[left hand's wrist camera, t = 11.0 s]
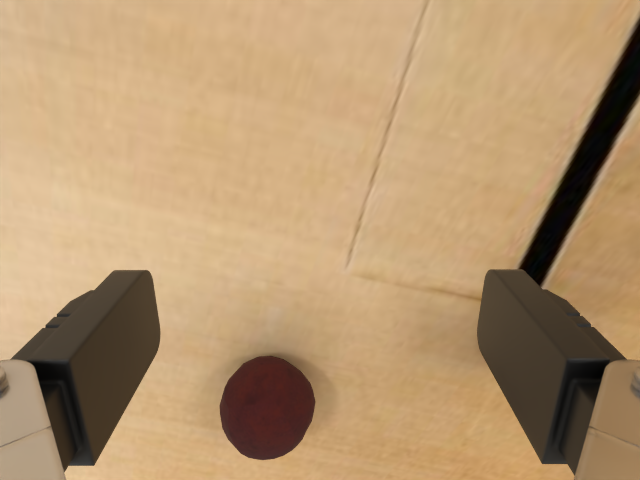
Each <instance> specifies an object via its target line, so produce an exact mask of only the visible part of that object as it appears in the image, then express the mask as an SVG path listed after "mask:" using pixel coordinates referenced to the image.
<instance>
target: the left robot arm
mask: <svg viewBox="0 0 640 480" xmlns="http://www.w3.org/2000/svg"><path fill="white" fill-rule="evenodd" d="M477 337H478V344H479V348H480V351H481V353H482V355H483V357H484V359H485V361H486V363H487V364H488V366H489V368H490V370H491V372H492V374H493V375H494V377H495V379H496V381H497V383H498V384H499V386H500V388H501V390H502V392H503V394H504V395H505V397H506V399H507V401H508V403H509V404H510V406H511V408H512V410H513V412H514V414H515V415H516V417H517V419H518V421H519V423H520V424H521V426H522V428H523V430H524V432H525V433H526V435H527V437H528V439H529V441H530V443H531V444H532V446H533V448H534V450H535V452H536V453H537V455H538V457H539V459H540V461H541V463H542V464H568V466H569V467H570V469H571V470H572V472H573V474H574V475H575V477H574V480H640V361H639V360H627V359H626V358H625V357H624V356H623V355H622V354H621V353H620V352H619V351H618V350H617V349H616V348H615V347H614V346H613V345H612V344H611V343H609V342H608V341H607V340H606V339H605V338H604V337H603V336H602V335H601V334H600V333H599V332H598V331H597V330H596V329H595V328H594V327H591V324H590V323H589V322H588V321H587V320H586V319H585V318H584V317H583V316H580V313H579V312H578V311H577V310H576V309H575V308H574V307H573V306H572V305H571V304H570V303H568V302H567V301H566V300H564V299H563V298H561V297H559V296H557V295H555V294H553V293H552V292H550V291H548V290H543V289H542V288H541V287H540V286H539V285H538V284H537V283H536V282H535V281H534V280H533V279H532V278H531V277H530V276H529V275H528V274H527V273H526V272H525V271H524V270H489V271H488V272H487V274H486V276H485V280H484V287H483V293H482V300H481V307H480V314H479V320H478V328H477ZM159 343H160V324H159V317H158V311H157V304H156V297H155V291H154V284H153V279H152V276H151V274H150V272H149V271H148V270H115V271H113V272H112V273H111V274H110V275H109V276H108V277H107V278H106V279H105V280H104V281H103V282H102V283H101V284H100V285H99V286H98V287H97V288H96V289H95V290H91V291H89V292H87V293H85V294H83V295H81V296H79V297H78V298H76V299H74V300H72V301H70V302H69V303H68V304H67V305H66V306H65V307H64V308H63V309H62V310H61V311H60V312H59V313H58V314H57V317H54V318H53V319H52V320H51V321H50V322H49V323H48V324H46V328H42V329H41V330H40V331H39V332H38V333H37V334H36V335H35V336H34V337H33V338H32V339H31V340H30V341H29V342H28V343H27V344H26V345H25V346H24V347H23V348H22V349H21V350H20V351H19V352H18V353H17V354H15V355H14V356H13V357H12V358H11V359H10V360H1V361H0V480H66V477H65V474H64V472H65V470H66V469H67V467H68V466H94V465H95V463H96V461H97V459H98V458H99V456H100V454H101V452H102V450H103V449H104V447H105V445H106V443H107V442H108V440H109V438H110V436H111V434H112V433H113V431H114V429H115V427H116V425H117V424H118V422H119V420H120V418H121V416H122V415H123V413H124V411H125V409H126V407H127V406H128V404H129V402H130V400H131V398H132V397H133V395H134V393H135V391H136V389H137V388H138V386H139V384H140V382H141V380H142V379H143V377H144V375H145V373H146V372H147V370H148V368H149V366H150V364H151V363H152V361H153V359H154V357H155V355H156V353H157V351H158V347H159Z"/></svg>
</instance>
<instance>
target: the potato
mask: <svg viewBox="0 0 640 480" xmlns="http://www.w3.org/2000/svg"><path fill="white" fill-rule="evenodd" d="M314 407H315V398H314V394H313V390H312V387H311V384H310V382H309V381H308V380H307V379H306V377H305V376H304V375H303V374H302V372H301V371H300V370H298V369H297V368H296V367H294V366H293V365H291V364H290V363H288V362H287V361H285V360H284V359H280V358H276V357H273V356H262V357H257V358H255V359H252V360H250V361H248V362H246V363H244V364H243V365H242V366H241V367H240V368H239V369H238V370H237V371H236V372H235V373H234V374H233V376H232V377H231V378H230V379H229V380H228V382H227V384H226V386H225V389H224V392H223V396H222V399H221V403H220V415H221V422H222V428H223V430H224V432H225V434H226V436H227V438H228V440H229V441H230V442H231V443H232V444H233V445H234V446H235V448H236V449H237V450H238V451H239V452H240V453H241V454H243V455H245V456H247V457H248V458H253V459H259V460H267V459H275V458H278V457H280V456H283V455H285V454H287V453H288V452H290V451H292V450H293V449H294V448H295V447H296V446H297V445H298V444H299V443H300V442H301V440H302V439H303V437H304V435H305V432H306V430H307V429H308V427H309V425H310V423H311V421H312V417H313V412H314Z"/></svg>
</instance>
